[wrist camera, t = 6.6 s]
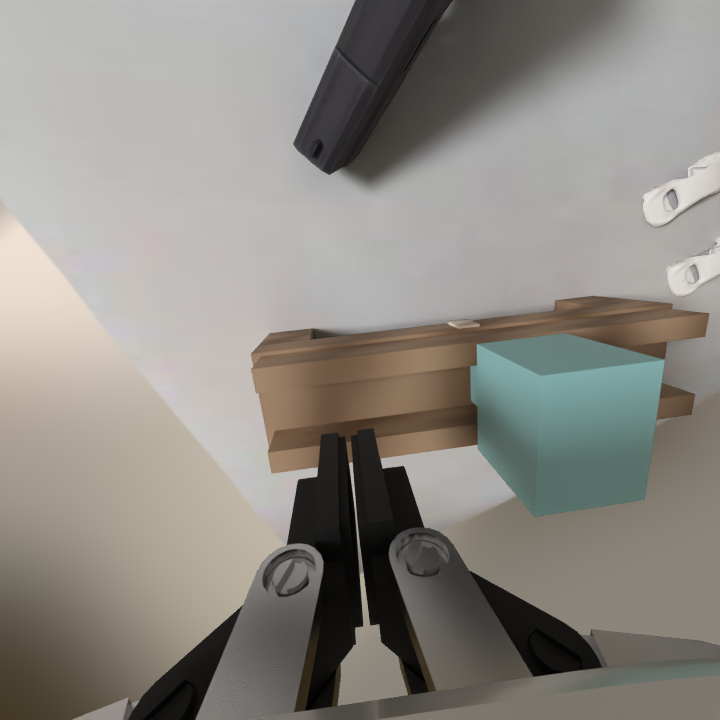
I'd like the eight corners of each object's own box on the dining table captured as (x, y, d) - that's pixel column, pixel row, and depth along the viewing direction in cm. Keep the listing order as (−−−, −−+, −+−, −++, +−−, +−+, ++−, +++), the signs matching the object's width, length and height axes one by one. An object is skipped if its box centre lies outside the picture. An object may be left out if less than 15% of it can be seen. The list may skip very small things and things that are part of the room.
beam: (593, 293, 25) (719, 305, 17) (587, 374, 27) (698, 419, 19) (269, 331, 24) (238, 363, 16) (283, 413, 25) (263, 480, 17)
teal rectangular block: (534, 324, 19) (664, 359, 11) (531, 417, 20) (644, 499, 13) (457, 334, 18) (540, 375, 11) (459, 427, 20) (534, 517, 13)
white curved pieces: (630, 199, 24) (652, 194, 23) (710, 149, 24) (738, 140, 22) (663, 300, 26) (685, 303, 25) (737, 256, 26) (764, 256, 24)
